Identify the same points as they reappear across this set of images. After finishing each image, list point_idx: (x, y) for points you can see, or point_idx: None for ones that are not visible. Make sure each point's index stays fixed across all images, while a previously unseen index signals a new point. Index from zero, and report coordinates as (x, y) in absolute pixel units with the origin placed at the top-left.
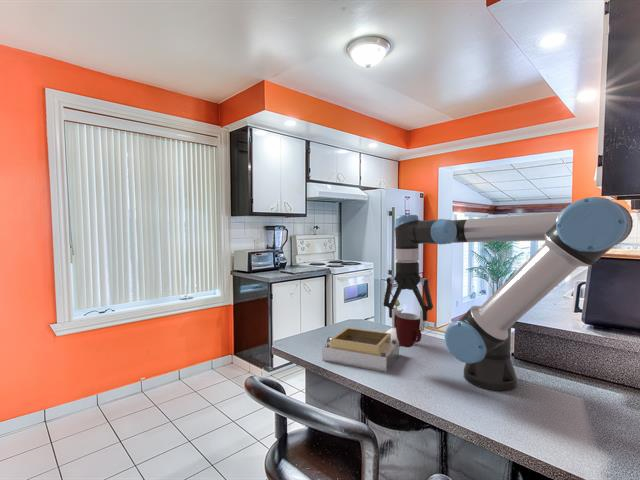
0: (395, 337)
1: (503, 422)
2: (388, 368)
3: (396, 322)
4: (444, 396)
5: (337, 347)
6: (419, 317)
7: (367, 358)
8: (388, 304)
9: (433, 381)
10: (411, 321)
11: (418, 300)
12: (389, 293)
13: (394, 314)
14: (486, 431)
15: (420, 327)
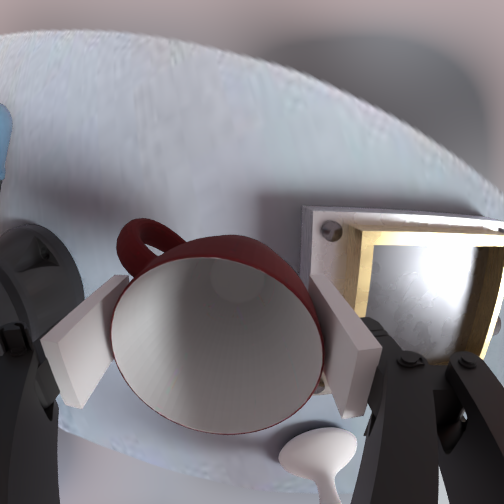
0: (320, 440)
1: (16, 92)
2: (301, 234)
3: (299, 278)
4: (105, 124)
5: (482, 230)
6: (134, 385)
7: (381, 211)
8: (436, 383)
9: (143, 206)
10: (153, 262)
11: (9, 428)
12: (494, 489)
13: (337, 331)
14: (44, 43)
15: (116, 283)
